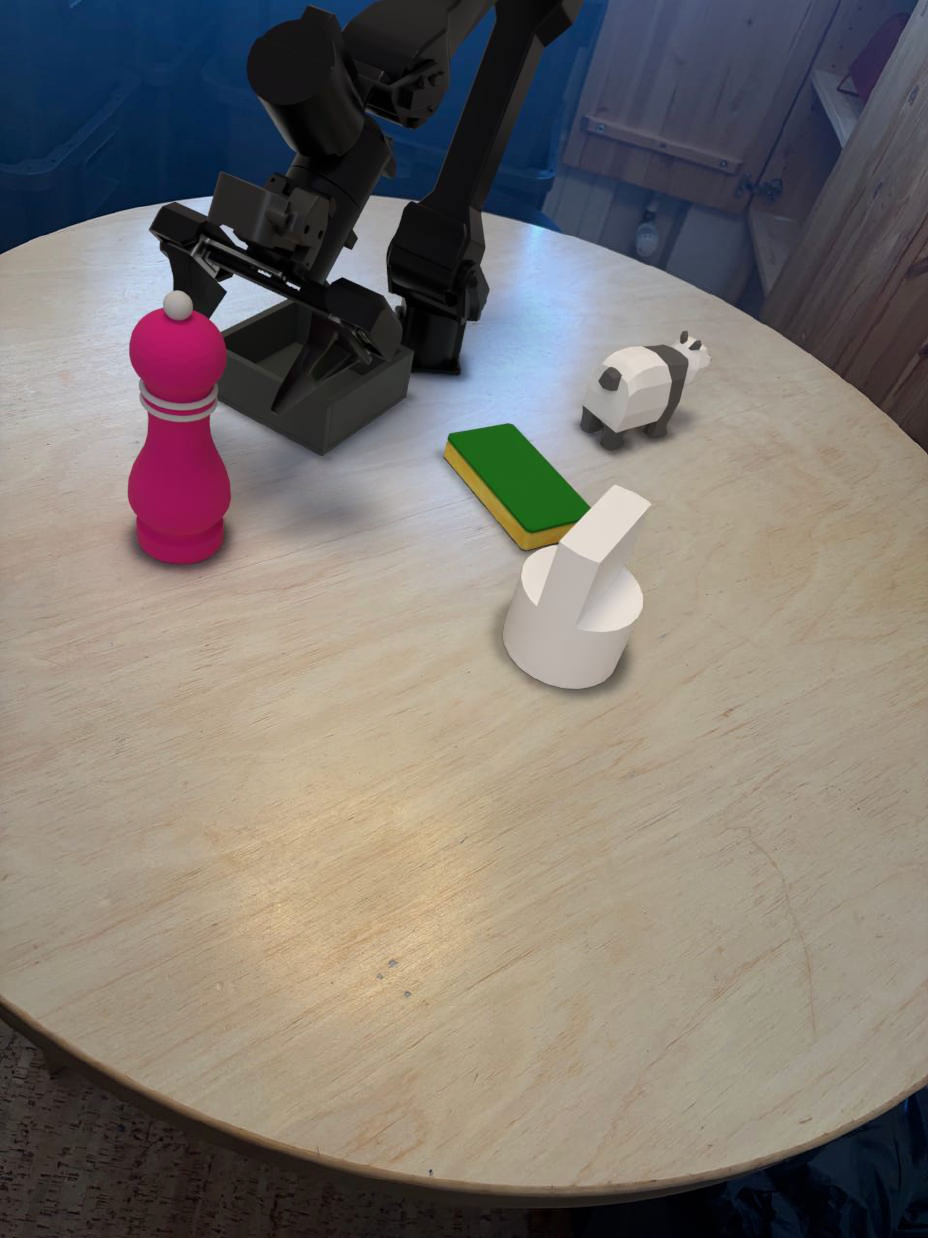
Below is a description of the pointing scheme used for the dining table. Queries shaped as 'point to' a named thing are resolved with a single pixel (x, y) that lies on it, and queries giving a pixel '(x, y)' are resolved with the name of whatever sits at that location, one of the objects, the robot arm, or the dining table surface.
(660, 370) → the giant panda
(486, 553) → the dining table surface
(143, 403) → the pepper mill
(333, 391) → the open rectangular box
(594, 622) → the base with upright slab
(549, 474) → the dish sponge
